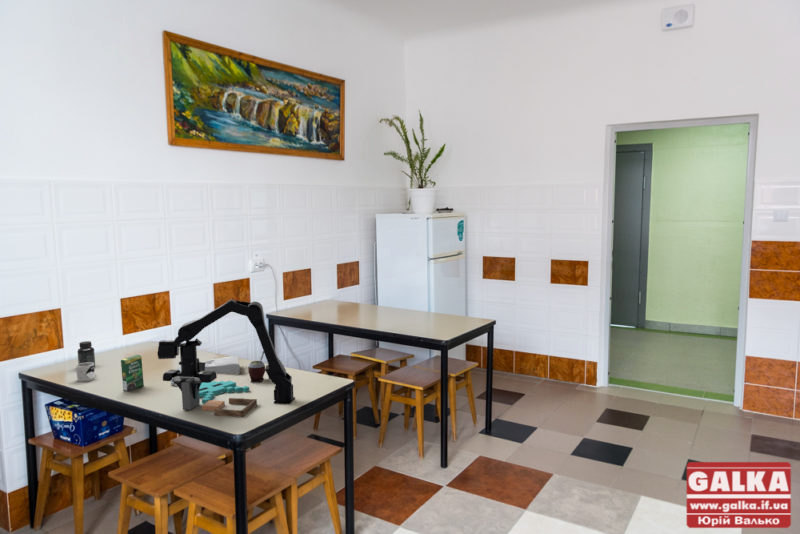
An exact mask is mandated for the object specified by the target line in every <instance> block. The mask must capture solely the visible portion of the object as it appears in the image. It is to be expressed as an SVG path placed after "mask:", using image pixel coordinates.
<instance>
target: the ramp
mask: <svg viewBox="0 0 800 534" xmlns="http://www.w3.org/2000/svg"><path fill="white" fill-rule="evenodd" d="M202 362H203V363H206V364H205V371H215V373H216V374H218V375H219V374H221V375H222V374H223V375H236V376H237V375H239V376H240V370H241V369H240V363H239V358H238V355H231V356H226V357H220V358H213V359H208V360H204V361H202ZM205 371H201V372H200V373H204V372H205Z"/></svg>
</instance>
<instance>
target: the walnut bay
mask: <svg viewBox="0 0 800 534" xmlns="http://www.w3.org/2000/svg"><path fill="white" fill-rule="evenodd" d="M228 404H230V405H246V406H245V407H243V409H223V408H222V409H221V408H220V409H214V411H213V412H214V413H213V414H214V416H225V417H240V418H241V417H242V418H243V417H244V416H245V415H246V414H248V413H249V412H250V411H251V410H253V408H254V407H255V406H257V405H258V399H256V398H243V397H242V398H239V397H238V398H237V397H229V398H228Z"/></svg>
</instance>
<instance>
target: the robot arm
mask: <svg viewBox="0 0 800 534" xmlns="http://www.w3.org/2000/svg"><path fill="white" fill-rule="evenodd" d="M230 313H235V314H238V315H240V316H241V315H242V316H245V317H246V318H247V319H248V320H249V322H250V323H251V325H252V326H253V328H254V329H255V331H256V333H257V338H258V339H259V342H260V346H261V347H262V349H263V351H264V355H265V358H266V361H267V365H265V373H266V374H267V377H268V380H269V381H271V382H272V384H275V386H274V389H273V400H274V401H273V404H283V405H291V404H292V403H293V401H294V400H295V399H296V397H295V396H294V384H292V381H293V379H292V378H293V377H292V375H290V374H289V373H288V372H287V371H286V370H287V369H286V368H285V366H284V365H283V362H282V361H281V360H280V358H279V357H278V355H277V352H276V350H275V347H274V343H273V341H272V339H271V336H270V334H269V330H268V328H267V326H266V321H265V315H264V314H265V313H264V308H263V305H262V304H261V302H258V301H251V302H249V301H241V300H236V299H228V300H227V301H226V302H224V303H223V304H221V305H220V306H218V307H217V308H215V309H213V310H212V311H211V310H210V312H208V313H207V314H204V315H203V316H202V317H200V318H197V319H193V320H191V321H187V322H185V323H184V324H183V325H181V327H179V329H178V331H177V336H176V337H175V338H174V339H173V340H164V339H161V340H159V341H158V348H157V358H158V360H170V359H173V360H174V359H176V358H177V356H179V355H180V357H179V358H180V361H179V362H178V365H179V366H180V365H181V372H180V370H177V369H169V370H168V371H165V372H164V373H163V374H162V381H163V382H170V381H171V380H172V379H173V378H175V381H174V384H176V385H175V386H177V388H179V390H180V391H181V393H182V387H181V383H182V382H184V381H186V380H187V379H188V378H190V379H194V380H195V381H194V382H192V391H193V397H194V399H196V397H197V394H198V391H199V388H200V386H201V383H210V382H213V381H216V379H217V378H218V376H217V375H218V373H215V371H205V364H206V363H203V361H200V358H199V357H198V352H197V347H200V346H202V344H203V342H202V341H201V340H200V339H198V338H195V337H196V336H197V335H199V333H201V331H203V330H204V329H205V328H207V327H208V326H210V325H211V324H214V323H215V322H217V321H218V320H219V319H222V318H223V317H225V316H226V315H229V314H230ZM194 338H195V339H194ZM192 339H194V340H192ZM183 342H184V343H183ZM263 351H262V352H263ZM201 371H205V372H201ZM198 372H199V374H198Z"/></svg>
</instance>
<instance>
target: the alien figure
mask: <svg viewBox="0 0 800 534" xmlns="http://www.w3.org/2000/svg"><path fill="white" fill-rule="evenodd" d="M241 392H242V393H248V392H250V386H247V385H244V386H239V385H237V382H236V381H232V380H226V381H223V380H220V381H216V380H213V381H212V382H210V383H201V386H200V388H199V398H201V404H202V405H204V404H205V403H206V402H208V401H209V400H213V399H214V398H215V396H216V395H219V394H223V393H227V394H231V393H236V394H238V393H241Z"/></svg>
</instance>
